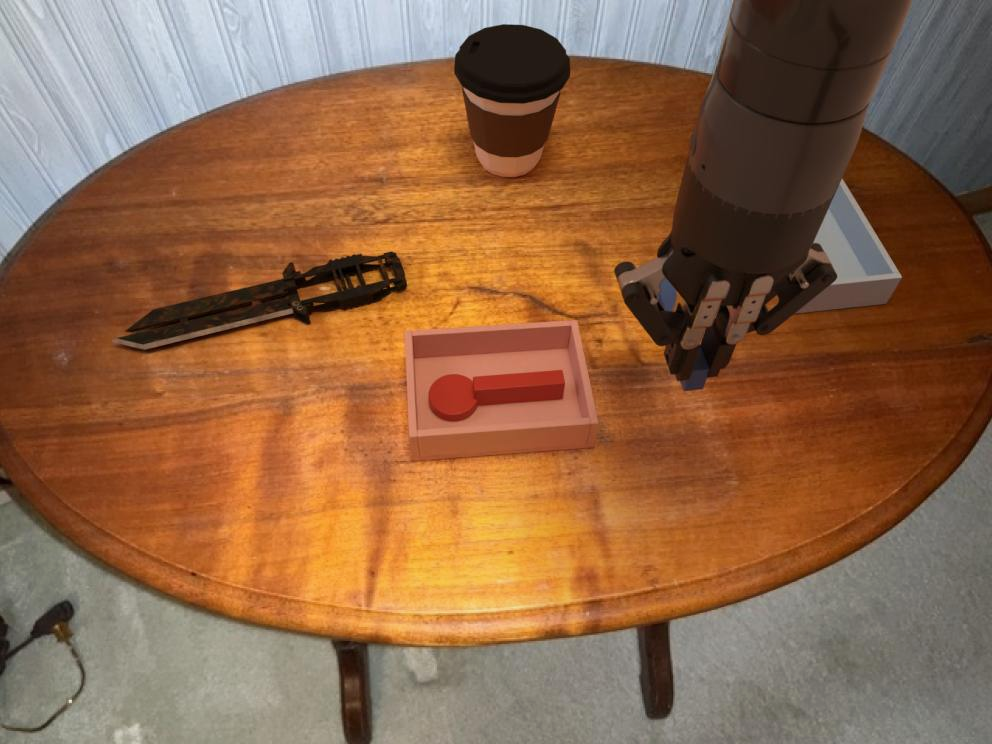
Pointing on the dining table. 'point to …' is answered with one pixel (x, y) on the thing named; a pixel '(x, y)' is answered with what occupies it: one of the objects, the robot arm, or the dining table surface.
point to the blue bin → (853, 258)
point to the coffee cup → (511, 93)
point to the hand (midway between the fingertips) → (693, 368)
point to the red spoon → (491, 391)
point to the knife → (270, 308)
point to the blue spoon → (701, 366)
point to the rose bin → (499, 423)
